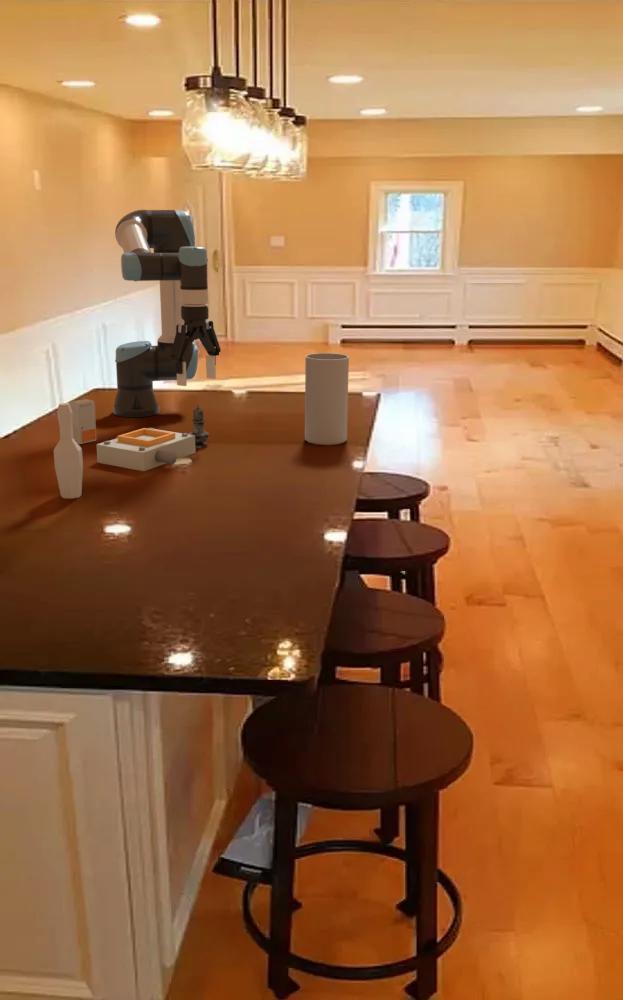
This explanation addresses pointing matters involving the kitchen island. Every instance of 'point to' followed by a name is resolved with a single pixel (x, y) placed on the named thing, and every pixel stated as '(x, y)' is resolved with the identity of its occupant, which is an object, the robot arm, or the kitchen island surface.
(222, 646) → the kitchen island surface
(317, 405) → the cylinder vase
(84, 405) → the skincare box
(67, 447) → the low poly bottle
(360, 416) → the kitchen island surface
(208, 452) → the kitchen island surface
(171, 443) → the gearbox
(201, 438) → the chess piece
